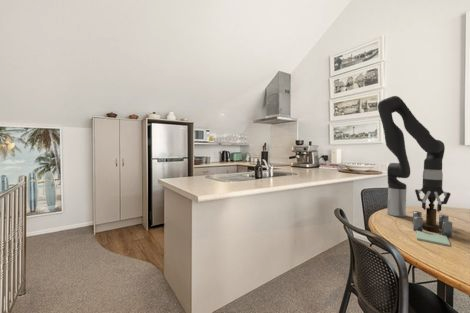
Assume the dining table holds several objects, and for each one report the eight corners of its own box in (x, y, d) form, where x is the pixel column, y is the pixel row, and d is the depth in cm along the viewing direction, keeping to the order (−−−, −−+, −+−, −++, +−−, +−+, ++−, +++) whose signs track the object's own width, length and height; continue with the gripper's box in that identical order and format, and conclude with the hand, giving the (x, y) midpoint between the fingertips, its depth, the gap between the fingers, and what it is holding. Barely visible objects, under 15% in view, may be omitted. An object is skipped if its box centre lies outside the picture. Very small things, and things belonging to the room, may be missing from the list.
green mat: (416, 239, 99) (417, 237, 99) (416, 231, 108) (416, 230, 108) (450, 246, 92) (450, 244, 92) (446, 237, 101) (446, 236, 101)
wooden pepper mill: (435, 228, 113) (436, 194, 112) (442, 232, 107) (443, 197, 106) (419, 226, 115) (420, 194, 114) (426, 231, 109) (427, 196, 108)
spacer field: (413, 231, 109) (413, 217, 109) (412, 222, 121) (413, 210, 121) (452, 238, 100) (453, 223, 100) (447, 228, 112) (448, 215, 112)
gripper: (414, 177, 111) (413, 209, 112) (453, 180, 102) (452, 215, 103) (414, 176, 117) (413, 206, 118) (450, 178, 108) (449, 211, 109)
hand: (431, 210), depth 111 cm, fingers open, 4 cm apart
